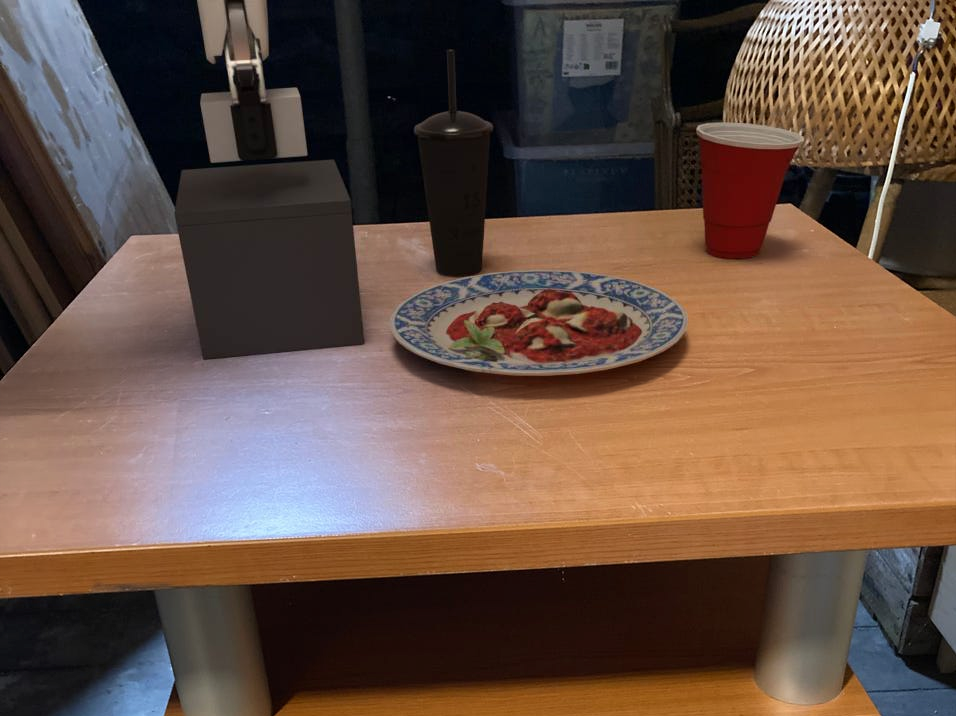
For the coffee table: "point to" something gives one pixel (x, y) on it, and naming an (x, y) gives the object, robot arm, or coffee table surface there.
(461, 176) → the drinking cup
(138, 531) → the coffee table surface
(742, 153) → the plastic cup
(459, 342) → the ceramic plate
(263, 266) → the dark lidded cube box
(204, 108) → the light gray rectangular block
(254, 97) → the robot arm
